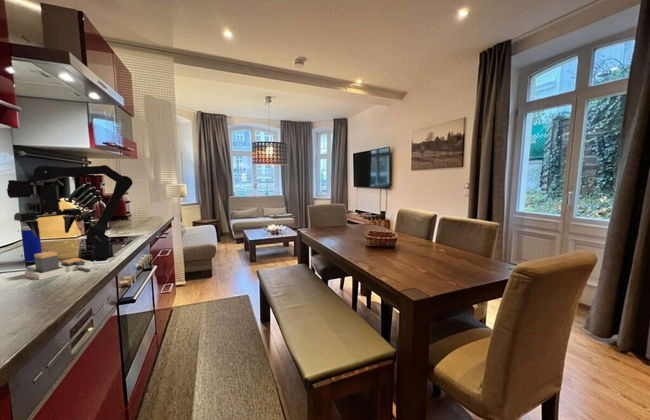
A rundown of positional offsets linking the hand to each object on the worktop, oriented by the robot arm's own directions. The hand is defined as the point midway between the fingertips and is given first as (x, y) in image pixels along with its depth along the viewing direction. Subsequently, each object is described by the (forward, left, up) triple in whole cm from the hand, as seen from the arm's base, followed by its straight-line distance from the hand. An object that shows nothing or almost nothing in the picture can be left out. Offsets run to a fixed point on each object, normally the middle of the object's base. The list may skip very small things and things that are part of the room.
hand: (52, 235), depth 109 cm
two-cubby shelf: (+4, +12, -12) cm, 18 cm away
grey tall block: (+8, +12, -12) cm, 19 cm away
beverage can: (+1, -14, -13) cm, 19 cm away
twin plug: (0, +16, -12) cm, 20 cm away
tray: (+3, +2, -12) cm, 13 cm away
